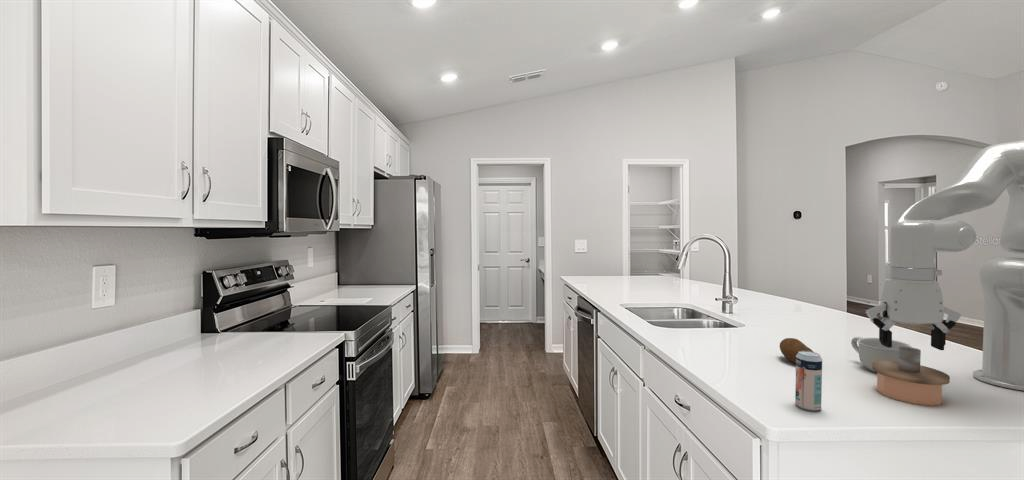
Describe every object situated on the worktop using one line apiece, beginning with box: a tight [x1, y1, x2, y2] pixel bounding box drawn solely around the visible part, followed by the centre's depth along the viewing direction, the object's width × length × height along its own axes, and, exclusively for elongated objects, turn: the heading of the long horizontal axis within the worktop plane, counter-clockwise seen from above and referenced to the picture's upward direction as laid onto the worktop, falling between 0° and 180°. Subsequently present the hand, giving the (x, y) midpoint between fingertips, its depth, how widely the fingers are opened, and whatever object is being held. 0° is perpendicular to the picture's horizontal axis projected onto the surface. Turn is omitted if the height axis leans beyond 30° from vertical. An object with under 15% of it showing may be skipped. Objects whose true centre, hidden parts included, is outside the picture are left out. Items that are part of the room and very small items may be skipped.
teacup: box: [850, 336, 912, 374], centre depth 113 cm, size 14×11×8 cm
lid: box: [872, 346, 951, 386], centre depth 96 cm, size 13×13×6 cm
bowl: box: [876, 373, 943, 407], centre depth 96 cm, size 11×11×5 cm
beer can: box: [794, 351, 823, 412], centre depth 90 cm, size 5×5×12 cm
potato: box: [779, 337, 814, 365], centre depth 119 cm, size 7×12×7 cm, turn 8°
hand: (911, 347), depth 96 cm, fingers open, 9 cm apart
